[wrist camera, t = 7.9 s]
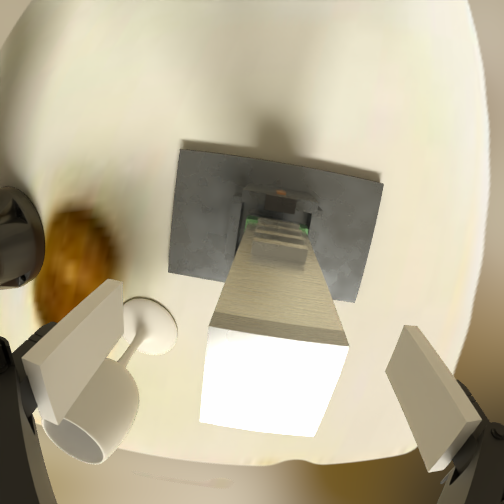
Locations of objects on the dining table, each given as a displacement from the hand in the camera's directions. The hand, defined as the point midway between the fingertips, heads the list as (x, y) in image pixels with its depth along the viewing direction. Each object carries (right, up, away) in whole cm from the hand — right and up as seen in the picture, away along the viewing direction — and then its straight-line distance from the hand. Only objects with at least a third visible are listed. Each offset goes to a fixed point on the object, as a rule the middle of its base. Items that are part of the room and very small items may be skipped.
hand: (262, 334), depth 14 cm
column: (+1, +4, +15) cm, 15 cm away
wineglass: (-14, -6, +27) cm, 31 cm away
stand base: (+2, +6, +22) cm, 23 cm away
